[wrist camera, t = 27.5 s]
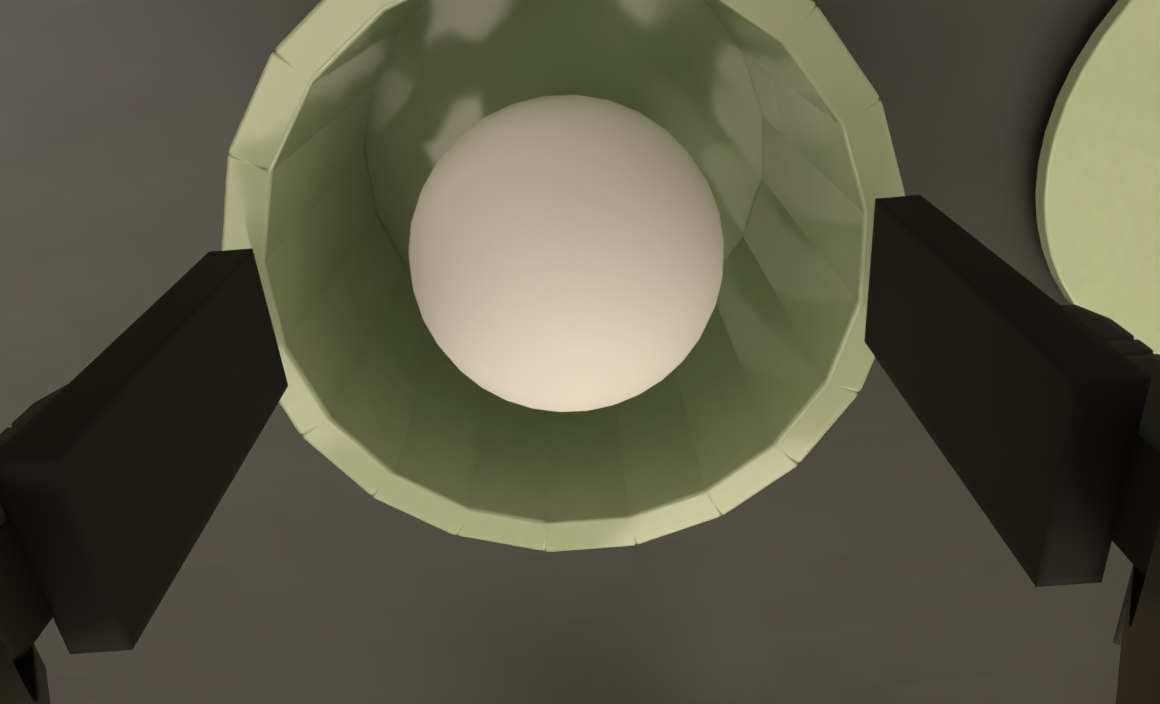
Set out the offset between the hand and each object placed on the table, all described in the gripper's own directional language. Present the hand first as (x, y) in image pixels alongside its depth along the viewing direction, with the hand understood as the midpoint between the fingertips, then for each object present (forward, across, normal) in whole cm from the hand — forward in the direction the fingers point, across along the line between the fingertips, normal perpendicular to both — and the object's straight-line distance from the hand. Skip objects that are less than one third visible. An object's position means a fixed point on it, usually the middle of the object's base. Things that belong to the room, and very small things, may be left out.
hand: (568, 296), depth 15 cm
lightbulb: (+10, 0, 0) cm, 10 cm away
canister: (+10, 0, 0) cm, 10 cm away
